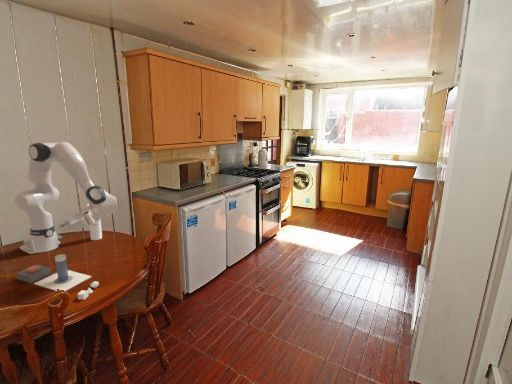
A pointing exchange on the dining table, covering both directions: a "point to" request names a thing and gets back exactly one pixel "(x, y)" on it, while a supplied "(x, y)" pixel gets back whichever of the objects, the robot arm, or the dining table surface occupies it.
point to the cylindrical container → (95, 230)
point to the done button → (33, 269)
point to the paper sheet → (54, 284)
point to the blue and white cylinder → (61, 267)
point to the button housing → (33, 274)
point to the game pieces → (84, 294)
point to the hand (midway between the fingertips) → (60, 228)
